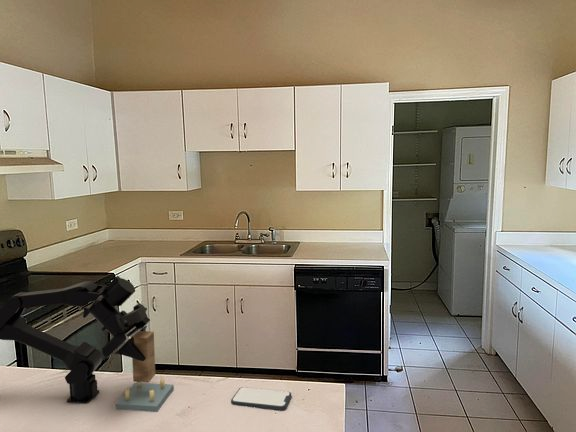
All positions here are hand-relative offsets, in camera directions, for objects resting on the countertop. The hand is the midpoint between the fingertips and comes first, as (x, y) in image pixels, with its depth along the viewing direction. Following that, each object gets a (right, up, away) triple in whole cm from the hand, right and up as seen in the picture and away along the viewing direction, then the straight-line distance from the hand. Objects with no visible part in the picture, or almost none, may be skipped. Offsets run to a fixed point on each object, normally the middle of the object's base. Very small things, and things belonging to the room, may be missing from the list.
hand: (148, 356), depth 124 cm
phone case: (+32, -13, +1) cm, 35 cm away
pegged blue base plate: (-1, -13, +2) cm, 13 cm away
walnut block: (-1, -6, +1) cm, 7 cm away
